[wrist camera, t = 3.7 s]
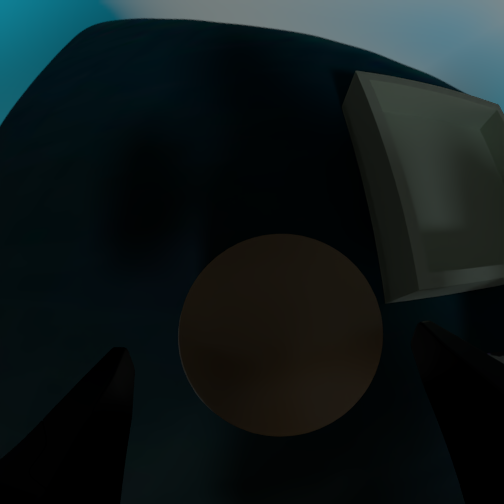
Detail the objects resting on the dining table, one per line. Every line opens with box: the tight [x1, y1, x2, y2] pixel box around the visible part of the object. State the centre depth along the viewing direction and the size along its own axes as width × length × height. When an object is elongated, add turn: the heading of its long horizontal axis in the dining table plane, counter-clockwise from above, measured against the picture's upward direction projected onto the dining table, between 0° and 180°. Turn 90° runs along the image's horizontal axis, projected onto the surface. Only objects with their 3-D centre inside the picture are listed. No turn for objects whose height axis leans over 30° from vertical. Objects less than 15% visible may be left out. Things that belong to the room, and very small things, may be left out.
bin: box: [341, 71, 504, 304], centre depth 19 cm, size 15×15×4 cm
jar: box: [178, 234, 383, 437], centre depth 13 cm, size 6×6×8 cm
